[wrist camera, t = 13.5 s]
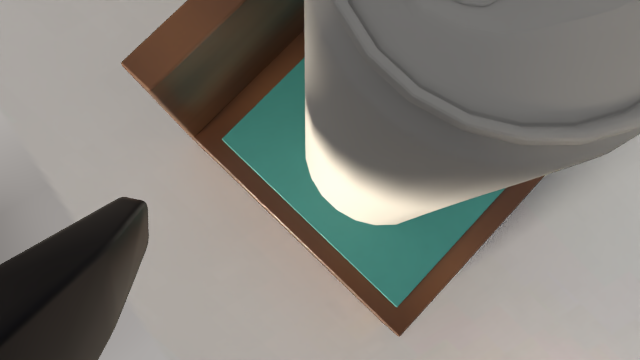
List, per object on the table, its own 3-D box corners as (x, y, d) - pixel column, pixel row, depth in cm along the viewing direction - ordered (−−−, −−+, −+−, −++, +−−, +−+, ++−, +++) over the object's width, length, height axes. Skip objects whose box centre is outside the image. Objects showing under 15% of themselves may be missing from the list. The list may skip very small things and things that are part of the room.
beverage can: (294, 88, 18) (271, -262, 6) (441, 69, 18) (712, -309, 6) (317, 237, 17) (341, 191, 5) (468, 214, 17) (835, 120, 5)
